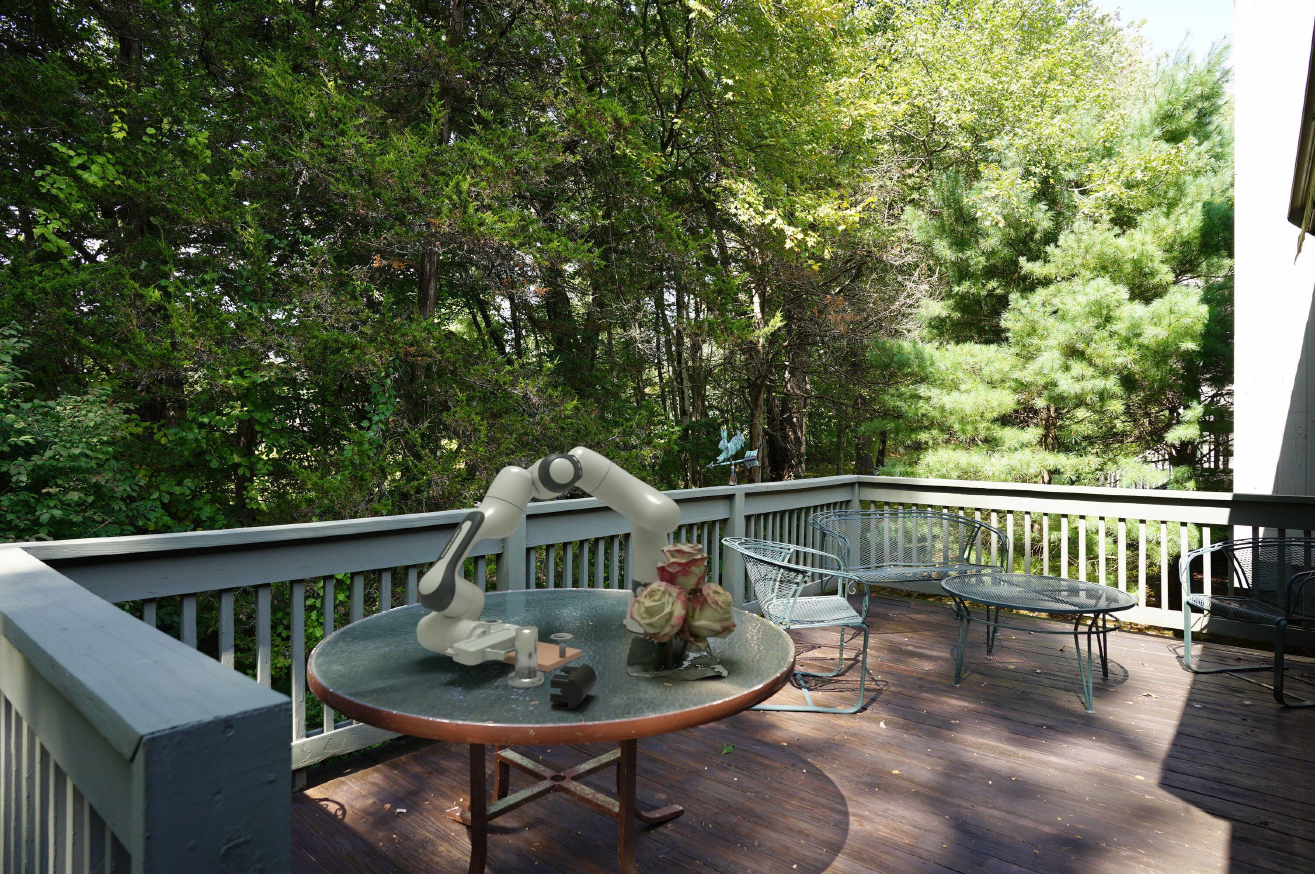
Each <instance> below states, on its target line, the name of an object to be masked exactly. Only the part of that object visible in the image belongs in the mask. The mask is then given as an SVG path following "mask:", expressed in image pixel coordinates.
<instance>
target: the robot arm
mask: <svg viewBox="0 0 1315 874" xmlns="http://www.w3.org/2000/svg"><path fill="white" fill-rule="evenodd" d="M574 486H576V487H578V488H580V489H581V490H583V491H584V492H586V493H587V494H589V495H591V496H592V497H593V498H595V499H596V500H598V501H599V502H601V503H603V504H605V505H606V506H608V507H609V508H611V510H614V511H616V512H617V513H619V514H621V515H623V516H624V517H626V518H627V519H629V528H630V537H631V543H632V549H633V550H632V551H633V554H632V555H633V557H632V558H633V561H632V562H633V565H632V567H633V569H632V573H633V574H632V575H633V576H632V577H633V578H631V584H630V586H631V588H630V589H631V590H630V591H631V594H630V595H628V598H627V608H626V618H625V619H623V620H622V624H623V625H625V626H626V628H627V629H628V630H629V631H631V632H634V633H639V634H644V633H643V632H644V629H643V628H642V627H640V626H639V624H638V623H637V622H636V621H635V620H632V619H631V617H630V613H631V608H632V605H633V604H634V601H635V599H636V598H635V597H634V595H640V594H641V593H642V591H643V590H644V588H646V587H647V586H648V585H649V584H651V583H652V582H655V581H660V580H659V577H658V576H657V569H656V567H658V563H659V562H660V561H661V562H665V563H666V562H667V558H666V556H665V554H664V553H663V552H661V551H660V549H662V548H663V547H667V546H669V545H670V544H669V543H670V542H669V540H668V534H671V533H672V532H674V531H675V530H676V529H678V527H679V525H680V524H681V521H682V512H681V509H680V507H679V505H678V504H677V503H676V501H674V500H673V499H672V498H671V497H669V496H667V495H666V494H665V493H663V492H661V491H659V490H657V489H656V488H654V487H653V486H651V485H649V484H648V483H646V482H644V481H642V480H641V479H639V478H637V477H635V476H634V475H632V474H630V473H629V472H627V471H626V470H625V469H623V468H621V466H619V465H617V464H616V463H614V462H613V461H612V460H610V459H609V458H607V457H605V456H603V455H602V454H600V453H598V452H596V451H594V450H593V449H590V448H587V447H584V446H576V447H574V448H572V449H570V450H569V452H568V453H559V452H558V453H551V454H548V455H546V456H545V457H542V458H539V460H537V461H536V462H534V463H533V464H532V465H531V466H528V468H526V469H524V468H522V467H520V466H516V465H508V466H505V467H503V468H502V469H501V470H500V471H499V473H498V474H497V475H496V476H495V478H494V479H493V481H492V483H491V484H490V486H489V487H488V490H487V492H486V494H485V496H484V498H483V499H482V502H481V503H480V504H479V506H478V507H477V509H475V510H473V511H470V512H469V513H467V514H466V516H464V518H462V520H461V521H460V523H459V524H458V525H457V527H456V529H455V530H454V531H453V532H452V534H451V536H450V538H449V539H448V540H447V542H446V544H445V545H444V547H443V548H442V550H441V552H440V553H439V555H438V556H437V558H436V559H435V561H434V562H433V563H432V565H431V566H430V567H429V568H428V569H427V570H426V572H425V573H424V574H423V575H422V576H421V578H420V579H419V581H418V584H417V589H416V592H417V594H416V595H417V599H418V603H419V604H420V606H421V607H423V608H424V609H427V610H430V611H432V612H431V613H429V614H428V615H425V616H424V617H422V618H421V619H420V620H419V622H418V623H417V627H416V636H417V637H416V638H417V640H418V643H420V645H421V646H422V647H423V648H424V649H426V650H427V651H430V652H433V653H437V654H440V655H444V656H445V655H446V656H449V657H452V660H453V661H454V662H457V663H459V664H462V665H465V666H476V665H478V664H481V663H483V662H486V661H490V660H491V661H492V660H498V661H499V660H500V661H502V660H503V659H506V658H507V654H508V653H510V652H512V651H515V629H516V628H518V627H522V626H520V625H517V624H512V623H503V620H501V619H491V620H484V621H481V620H480V618H481V616H482V614H483V612H484V609H485V605H486V595H485V592H484V590H483V589H482V588H481V587H480V586H478V585H477V584H475V583H474V582H473V583H472V582H471V581H469V580H467V579H465V578H463V577H461V576H460V575H459V570H460V567H461V566H462V564H463V562H465V560H466V558H467V556H468V555H469V553H470V551H471V550H472V548H473V547H474V545H475V544H476V543H477V542H478V541H480V540H484V539H493V540H495V539H496V540H499V539H504V538H507V537H510V536H511V535H512V534H514V533H515V531H516V530H517V529H518V527H519V526H520V523H521V521H522V519H523V517H524V514H525V512H526V509H527V506H528V504H529V503H530V501H531V500H532V501H533V500H534V501H538V502H539V501H541V502H543V501H544V502H545V501H549V500H551V499H555V498H557V497H559V496H560V495H562V494H563V493H566V492H567V491H569V490H570V489H572V488H573V487H574ZM479 620H480V621H479Z"/></svg>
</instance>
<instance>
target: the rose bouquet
mask: <svg viewBox="0 0 1315 874" xmlns="http://www.w3.org/2000/svg"><path fill="white" fill-rule="evenodd" d="M703 548H704V547H703V545H702V544H699V543H697V541H695V542H693V543H692V544H690V543H688V542H679V543H674V542H673V543H671V544H669V546H667V547H663V548H662V549H660V551H661V552H663V553H664V554H665V556H666V558H667V562H666V563H665V562H661V561H660V562H659V563H658V567H656V569H657V576H658V577H659V580H660V581H655V582H652V583H651V584H649V585H648V586H647V587H646V588H644V590H643V591H642V593H641V594H640V595H634V597H635V598H636V599H635V601H634V604H633V605H632V608H631V613H630V617H631V619H632V620H635V621H636V622H637V623H638V624H639V626H640V627H642V628H643V629H644V632H643V633H642V634H643V635H640V634H639V635H638V634H633V635H632V636H633V637H632V638H631V642H630V646H629V647H628V654H627V659H626V660H627V661H626V670H627V673H628V674H629V675H630V676H632V677H633V676H634V677H645V678H646V679H651V678H657V677H658V678H659V677H665V676H666V677H668V678H670V679H673V680H675V681H693V680H698V679H702V678H705V677H706V678H707V677H710V676H718V675H719V676H721V677H722V678H724V677H723V676H722V672H720V671H715V670H714V669H716V668H715V667H710V666H713V665H714V666H715V665H720V664H721V662H720V663H719V662H718V661H717V660H716V658H715V656H714V655H713V652H712V648H711V647H710V646H711V645H710V643H709V640H708V639H707V638H716V639H727V638H728V636H731V635H732V634H733V633H734V632H736V627H737V624H736V622H735V616H733V613H732V611H734V608H732V607H731V606H733V605H734V601H733V597H732V595H731V593H730V592H729V591H727V590H724V589H723V588H722V586H720V585H719V584H718V583H715V582H707V581H706V578H707V575H708V572H709V565H707V564H705V562H706V561H707V560H708V559H709V557H710V556H709V555H708V554H707V553H703V552H701V551H702V549H703ZM708 650H709V651H708ZM701 651H702V652H705V651H706V653H707V654H708V655H709V656H710V657H702V656H698V657H694V658H693V659H691V660H687V661H690V663H691V664H688V665H689V666H686V667H683V668H684V669H677V670H666V669H673V668H672V667H673V666H674V665H675V664H677V665H680V664H682V663H681V662H683V660H682V657H683V656H684V657H685V656H686V655H689V653H686V652H691V653H698V654H699V653H701ZM684 657H683V658H684ZM688 663H689V662H688ZM696 665H700V666H701V667H700V668H705V669H698V668H699V666H696ZM702 665H703V667H702ZM705 665H706V666H705ZM663 666H664V667H663ZM680 667H681V666H680ZM661 668H664V669H662V670H663V671H660V670H659V669H661ZM681 668H682V667H681ZM657 670H658V671H657ZM655 672H659V673H655ZM643 675H650V676H643ZM684 679H686V680H684Z"/></svg>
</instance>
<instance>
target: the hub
mask: <svg viewBox="0 0 1315 874" xmlns="http://www.w3.org/2000/svg"><path fill="white" fill-rule="evenodd" d="M538 635H539V628H538V627H537V626H531V625H528V626H527V625H526V626H525V625H524V626H523V625H522V626H521V627H518V628H516V629H515V649H514V651H515V665H514V671H512V672H511V673H509V674H508V675H507V685H508V686H509V687H511V688H513V689H518V690H519V689H520V690H521V689H523V688H528V689H533V688H538V687H540V686H542V685H543V684H544V683H545V674H544V672H543V671H541V670H537V659H538V642H539V636H538ZM543 682H544V683H543ZM537 686H538V687H537ZM523 690H524V689H523Z"/></svg>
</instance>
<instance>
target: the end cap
mask: <svg viewBox="0 0 1315 874" xmlns="http://www.w3.org/2000/svg"><path fill="white" fill-rule="evenodd" d="M561 667H562V668H560V669H559V671H560V673H563V674H558V673H555V674H554V675H553V676H551V678H550V683H549V684H550V685H549V687H550V689H559V693H552V692H551V693H550V694H549V701H550V702H552V703H550V709H552V708H555V709H554V710H560V709H562V710H563V711H572V710H574V709H575V708H577V706H579V705H580V704H581V703H582V701H583V700H584V699H585V698H586V697H587V696H588V694H589V693H590V692H591V691H592V690H593V688H594V687H595V685H596V683H597V674H596V671H595V670H594V668H593V667H592V666H591V665H589V664H587V663H582V664H581V665H580V666H570V665H569V666H568V665H563V666H561Z"/></svg>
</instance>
